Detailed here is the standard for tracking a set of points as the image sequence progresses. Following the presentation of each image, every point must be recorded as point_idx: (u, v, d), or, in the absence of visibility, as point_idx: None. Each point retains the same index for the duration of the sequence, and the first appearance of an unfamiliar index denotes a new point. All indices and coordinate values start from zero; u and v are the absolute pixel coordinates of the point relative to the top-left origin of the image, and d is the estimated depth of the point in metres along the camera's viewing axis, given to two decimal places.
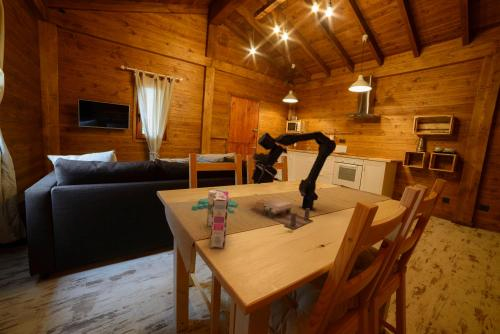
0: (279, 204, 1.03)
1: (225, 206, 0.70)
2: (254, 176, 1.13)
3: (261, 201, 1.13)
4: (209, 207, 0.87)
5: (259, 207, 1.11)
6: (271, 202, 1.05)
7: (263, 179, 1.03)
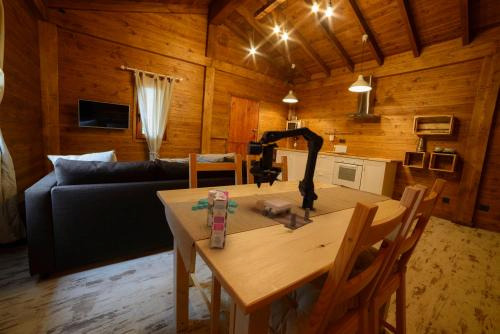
0: (279, 204, 1.03)
1: (225, 206, 0.70)
2: (270, 182, 1.14)
3: (261, 201, 1.13)
4: (209, 207, 0.87)
5: (259, 207, 1.11)
6: (271, 202, 1.05)
7: (258, 182, 1.06)
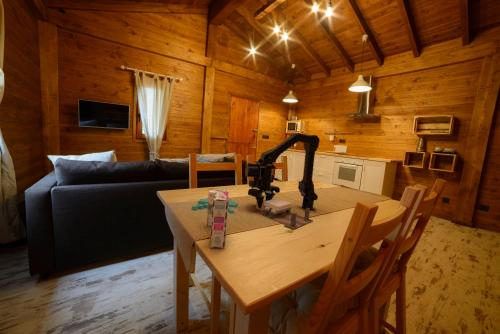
0: (279, 204, 1.03)
1: (225, 206, 0.70)
2: None
3: None
4: (209, 207, 0.87)
5: None
6: (271, 202, 1.05)
7: (259, 202, 1.09)
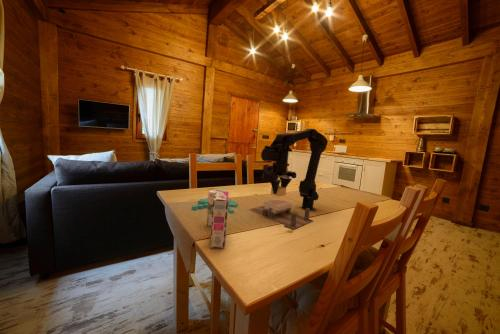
0: (279, 204, 1.03)
1: (225, 206, 0.70)
2: None
3: None
4: (209, 207, 0.87)
5: None
6: (271, 202, 1.05)
7: (274, 188, 1.02)
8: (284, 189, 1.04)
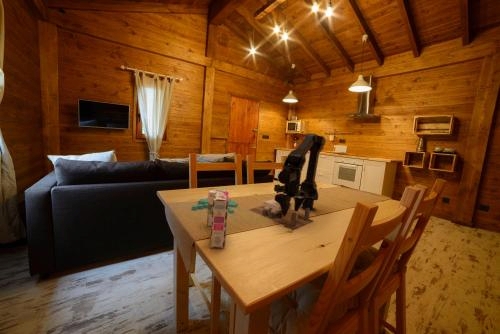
0: (279, 204, 1.03)
1: (225, 206, 0.70)
2: (295, 208, 1.04)
3: (288, 210, 1.01)
4: (209, 207, 0.87)
5: (286, 217, 1.00)
6: (271, 202, 1.05)
7: (284, 210, 0.96)
8: None
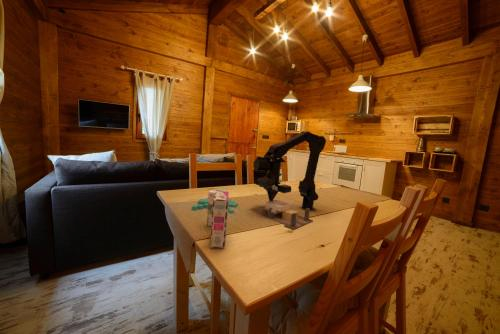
0: (281, 204, 1.02)
1: (225, 206, 0.70)
2: None
3: (288, 210, 1.01)
4: (209, 207, 0.87)
5: (286, 217, 1.00)
6: (273, 203, 1.04)
7: (274, 196, 1.08)
8: None
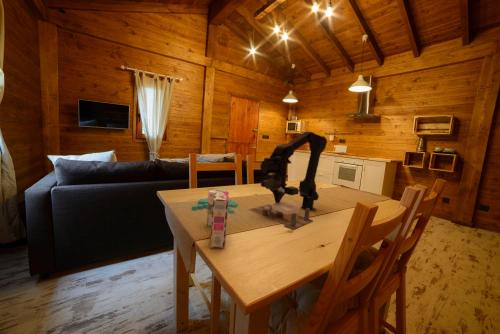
0: (288, 207, 0.99)
1: (225, 206, 0.70)
2: None
3: None
4: (209, 207, 0.87)
5: (287, 217, 1.00)
6: (279, 205, 1.01)
7: (280, 198, 1.05)
8: (297, 213, 1.00)
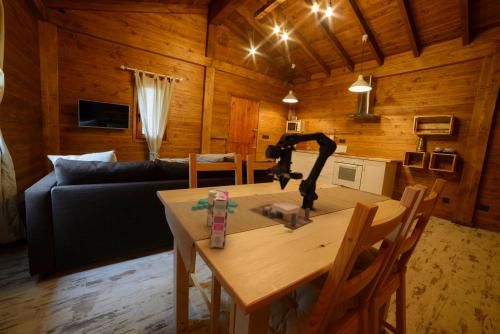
0: (288, 207, 0.99)
1: (225, 206, 0.70)
2: None
3: None
4: (209, 207, 0.87)
5: (287, 218, 1.00)
6: (279, 205, 1.01)
7: (285, 184, 1.11)
8: (297, 213, 1.00)
